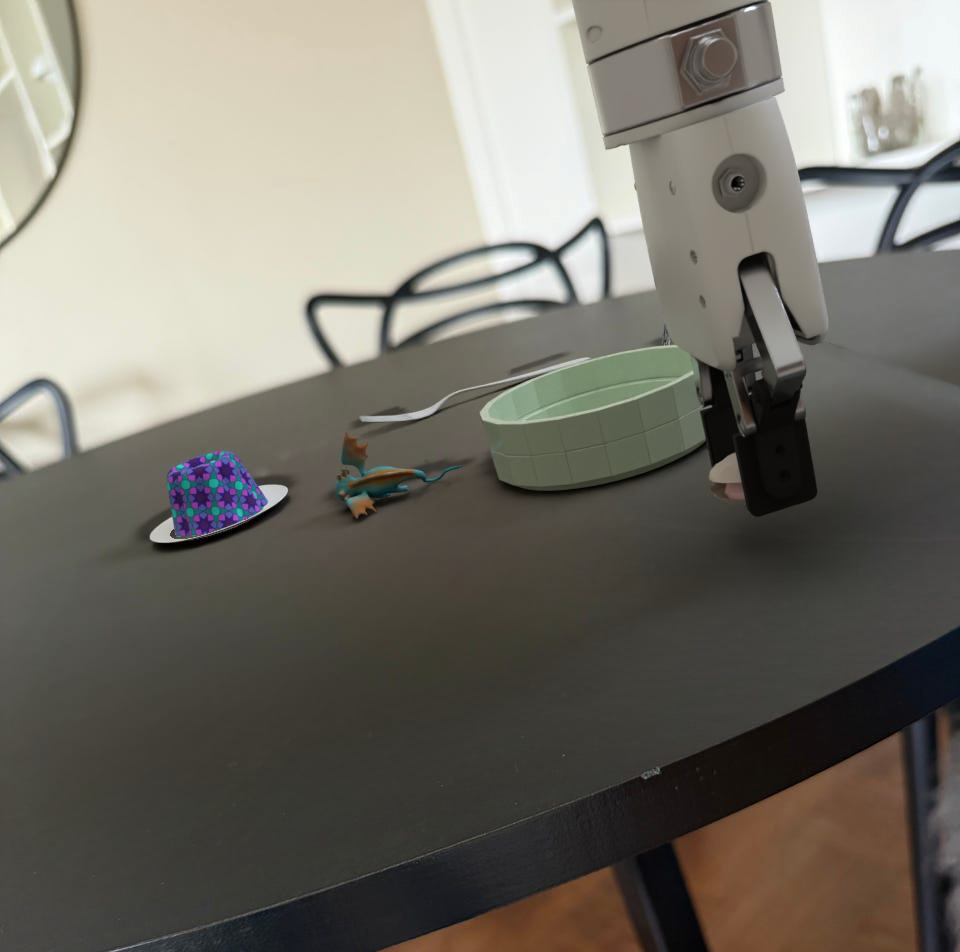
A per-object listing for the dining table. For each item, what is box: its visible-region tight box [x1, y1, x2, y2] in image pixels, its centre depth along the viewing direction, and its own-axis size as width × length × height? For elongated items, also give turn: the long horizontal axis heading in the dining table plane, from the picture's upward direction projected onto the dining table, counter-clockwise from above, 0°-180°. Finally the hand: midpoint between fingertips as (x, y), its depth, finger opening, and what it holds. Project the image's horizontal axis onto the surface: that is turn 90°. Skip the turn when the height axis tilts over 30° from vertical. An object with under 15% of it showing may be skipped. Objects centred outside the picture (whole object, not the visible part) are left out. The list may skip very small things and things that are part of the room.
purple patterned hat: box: [149, 450, 289, 544], centre depth 85 cm, size 12×12×5 cm
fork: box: [358, 356, 592, 424], centre depth 102 cm, size 3×24×2 cm, turn 106°
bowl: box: [479, 345, 712, 492], centre depth 72 cm, size 16×16×5 cm
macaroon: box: [708, 452, 747, 508], centre depth 50 cm, size 4×5×2 cm
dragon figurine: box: [334, 431, 464, 519], centre depth 77 cm, size 6×7×8 cm
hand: (763, 487), depth 50 cm, fingers closed on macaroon, 4 cm apart
